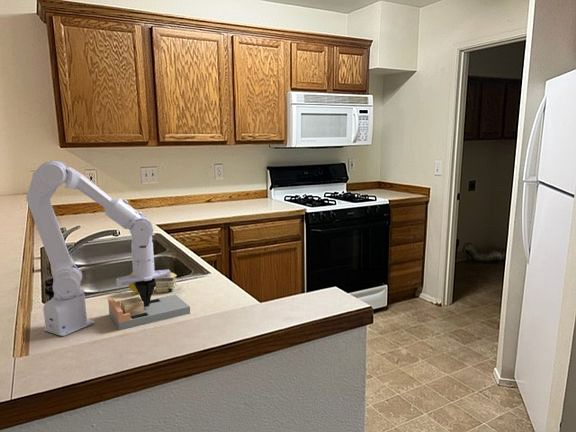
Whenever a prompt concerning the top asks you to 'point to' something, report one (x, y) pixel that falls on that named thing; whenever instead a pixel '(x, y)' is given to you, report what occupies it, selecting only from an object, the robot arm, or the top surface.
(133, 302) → the birch block
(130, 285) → the lemon
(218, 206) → the top surface
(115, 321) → the slate board
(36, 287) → the top surface
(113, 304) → the terracotta end wall
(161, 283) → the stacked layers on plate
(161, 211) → the top surface
